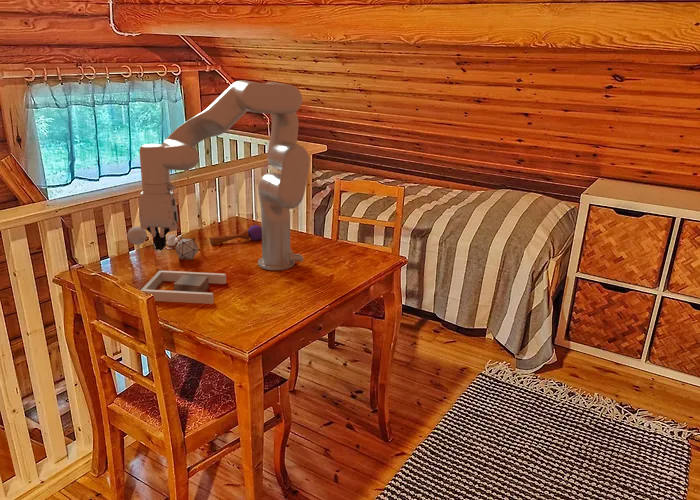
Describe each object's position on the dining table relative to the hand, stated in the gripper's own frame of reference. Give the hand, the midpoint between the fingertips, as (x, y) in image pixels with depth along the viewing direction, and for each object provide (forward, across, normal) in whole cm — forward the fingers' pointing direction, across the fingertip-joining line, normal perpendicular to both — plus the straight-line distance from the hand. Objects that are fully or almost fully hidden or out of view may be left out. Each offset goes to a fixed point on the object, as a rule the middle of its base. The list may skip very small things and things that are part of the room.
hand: (160, 248), depth 168 cm
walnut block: (+14, -9, -1) cm, 16 cm away
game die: (+13, +1, -26) cm, 29 cm away
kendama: (+13, -12, -46) cm, 49 cm away
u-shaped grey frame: (+13, -7, -1) cm, 15 cm away
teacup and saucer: (+14, +9, -41) cm, 44 cm away
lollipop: (+14, +13, -15) cm, 24 cm away
